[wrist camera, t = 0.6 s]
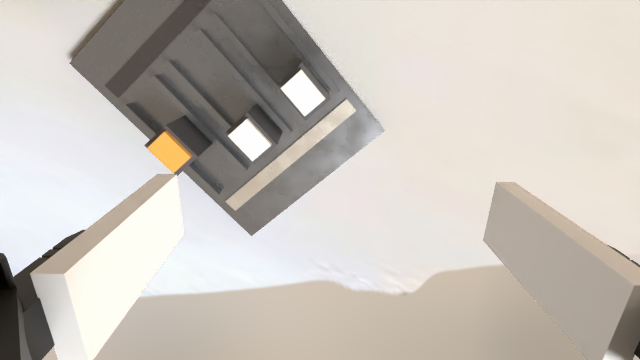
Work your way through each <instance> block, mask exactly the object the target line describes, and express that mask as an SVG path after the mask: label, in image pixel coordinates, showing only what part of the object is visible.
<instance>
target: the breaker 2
mask: <svg viewBox="0 0 640 360" xmlns="http://www.w3.org/2000/svg"><path fill="white" fill-rule="evenodd" d="M224 134H225V135H226V136H227V137H228V138H229V139H230V140H231V141H232V142H233V143H234V144H235V145H236V146H237V147H238V148H239V149H240V150H241V151H242V152H243V153H244V155H245V156H246V157H247V158H248V159H249V160H250V161H251V162H252V163H253V164H256V163H257V162H258V161H259V160H260V159H261V158H263V157H264V156H265V155H266V154H267V153H268V152H270V151H271V150H272V149H273V148H274V147H275V146H277V144H278V142H279V140H280V137H281V135H282V132H281V131H280V129H279V128H278V127H277V126H276V125H275V124H274V123H273V122H272V121H271V120H270V118H269V117H268V116H267V115H266V114H265V113H264V112H263V111H262V110H261V108H260V107H259V106H258V105H257V104H256V105H255V106H253V107H252V108H251V109H250V110H249V111H248V112H247V113H246V114H245V115H244V116H242V117H241V118H240V119H239V120H238V121H237V122H236V123H235V124H234V125H233V126H231V127H230V128H229V129H228V130H227V131H226V132H225V133H224Z"/></svg>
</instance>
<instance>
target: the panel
mask: <svg viewBox="0 0 640 360" xmlns="http://www.w3.org/2000/svg"><path fill="white" fill-rule="evenodd" d="M303 61H304V63H305V64H306V65H307V66H308V68H309V69H310V70H311V71H312V72H313V74H314V75H315V76H316V77H317V79H318V80H319V81H320V82H321V83H322V85H323V86H324V87H325V88H326V90H327V91H328V92H329V95H330V100H329V101H328V102H327V103H326V104H325V105H323V106H322V107H321V108H320V109H319V110H317V111H316V112H315V113H314V114H313V115H312V116H310V117H309V118H308V119H307V120H306V121H305V120H304V119H303V118H302V116H301V115H300V114H299V113H298V112H297V111H296V109H295V108H294V107H293V106H292V105H291V104H290V103H289V101H288V100H287V99H286V98H285V97H284V96H283V94H282V93H281V92H280V91H279V90H278V89H277V88H276V86H277V85H278V84H279V83H280V82H281V81H282V80H283V79H284V78H285V77H286V76H288V75H289V74H290V73H291V72H292V71H293V70H294V69H295V68H296V67H297V66H299V65H300V64H301V63H302V62H303ZM70 64H71V65H72V66H73V67H74V68H75V69H76V70H77V71H78V72H79V73H80V74H81V75H82V76H83V77H85V78H86V79H87V80H88V81H89V82H90V83H91V84H92V85H93V86H94V87H95V88H96V89H97V90H98V91H99V92H100V93H101V94H102V95H103V96H105V97H106V98H107V99H108V100H109V101H110V102H111V103H112V104H113V105H114V106H115V107H116V108H117V109H118V110H119V111H120V112H121V113H122V114H123V115H125V116H126V117H127V118H128V119H129V120H130V121H131V122H132V123H133V124H134V125H135V126H136V127H137V128H138V129H139V130H140V131H141V132H142V133H144V134H145V135H146V136H147V137H148V138H149V139H150V140H151V139H152V138H153V137H154V136H155V135H156V134H157V133H158V132H159V131H160V130H161V129H162V128H163V127H164V126H165V125H166V124H168V123H170V122H172V121H174V120H176V119H178V118H180V117H182V116H184V115H186V116H187V117H188V118H189V119H190V120H191V121H192V122H193V123H194V124H195V125H196V126H197V128H198V129H199V130H200V131H201V132H202V133H203V134H204V135H205V136H206V137H207V138H208V139H209V140H210V141H211V142H212V143H213V144H212V145H211V146H209V147H208V148H207V149H206V150H205V151H204V152H203V153H202V154H201V155H200V156H198V157H197V158H196V159H195V160H194V161H193V162H192V163H191V164H190V165H189V166H187V167H186V168H185V169H184V170H183V171H184V172H185V173H186V174H187V175H188V176H189V177H190V178H191V179H192V180H193V181H194V182H195V183H196V184H197V185H198V186H199V187H200V188H201V189H203V190H204V191H205V192H206V193H207V194H208V195H209V196H210V197H211V198H212V199H213V200H214V201H215V202H216V203H217V204H218V205H219V206H220V207H222V208H223V209H224V210H225V211H226V212H227V213H228V214H229V215H230V216H231V217H232V218H233V219H234V220H235V221H236V222H237V223H238V224H239V225H240V226H242V227H243V228H244V229H245V230H246V231H247V232H248V233H249V234H250V235H251V236H252V235H253V234H255V233H256V232H257V231H259V230H260V229H261V228H262V227H264V226H265V225H266V224H267V223H269V222H270V221H271V220H272V219H274V218H275V217H276V216H277V215H279V214H280V213H281V212H283V211H284V210H285V209H286V208H288V207H289V206H290V205H291V204H293V203H294V202H295V201H296V200H298V199H299V198H300V197H301V196H303V195H304V194H305V193H307V192H308V191H309V190H310V189H312V188H313V187H314V186H315V185H317V184H318V183H319V182H320V181H322V180H323V179H324V178H325V177H327V176H328V175H329V174H331V173H332V172H333V171H334V170H336V169H337V168H338V167H339V166H341V165H342V164H343V163H344V162H346V161H347V160H348V159H349V158H351V157H352V156H353V155H355V154H356V153H357V152H358V151H360V150H361V149H362V148H363V147H365V146H366V145H367V144H368V143H370V142H371V141H372V140H373V139H375V138H376V137H377V136H379V135H380V134H381V133H382V132H384V129H383V128H382V127H381V126H380V124H379V123H378V122H377V121H376V119H375V118H374V117H373V115H372V114H371V113H370V112H369V110H368V109H367V108H366V107H365V105H364V104H363V103H362V102H361V100H360V99H359V98H358V97H357V95H356V94H355V93H354V91H353V90H352V89H351V88H350V86H349V85H348V84H347V83H346V81H345V80H344V79H343V78H342V76H341V75H340V74H339V72H338V71H337V70H336V69H335V67H334V66H333V65H332V64H331V62H330V61H329V60H328V59H327V57H326V56H325V55H324V54H323V52H322V51H321V50H320V48H319V47H318V46H317V45H316V43H315V42H314V41H313V40H312V38H311V37H310V36H309V35H308V33H307V32H306V31H305V30H304V28H303V27H302V26H301V24H300V23H299V22H298V21H297V19H296V18H295V17H294V16H293V14H292V13H291V12H290V11H289V9H288V8H287V7H286V6H285V4H284V3H283V2H282V0H124V1H123V3H122V4H121V5H120V6H119V7H118V8H117V9H116V11H115V12H114V13H113V14H112V15H111V16H110V17H109V19H108V20H107V21H106V22H105V23H104V24H103V25H102V27H101V28H100V29H99V30H98V31H97V32H96V33H95V35H94V36H93V37H92V38H91V39H90V40H89V41H88V43H87V44H86V45H85V46H84V47H83V48H82V49H81V50H80V52H79V53H78V54H77V55H76V56H75V57H74V58H73V60H72V61H71V62H70ZM256 104H257V105H258V106H259V107H260V108H261V110H262V111H263V112H264V113H265V114H266V115H267V116H268V117H269V118H270V120H271V121H272V122H273V123H274V124H275V125H276V126H277V127H278V128H279V129H280V131H281V132H282V135H281V137H280V140H279V142H278V144H277V146H275V147H274V148H273V149H272V150H271V151H270V152H268V153H267V154H266V155H265V156H264V157H263V158H261V159H260V160H259V161H258V162H257V163H256V164H253V163H252V162H251V161H250V160H249V159H248V158H247V157H246V156H245V155H244V153H243V152H242V151H241V150H240V149H239V148H238V147H237V146H236V145H235V144H234V143H233V142H232V141H231V140H230V139H229V138H228V137H227V136H226V135H225V134H224V133H225V132H226V131H227V130H228V129H229V128H230V127H231V126H233V125H234V124H235V123H236V122H237V121H238V120H239V119H240V118H241V117H242V116H244V115H245V114H246V113H247V112H248V111H249V110H250V109H251V108H252V107H253V106H255V105H256Z"/></svg>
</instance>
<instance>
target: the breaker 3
mask: <svg viewBox="0 0 640 360" xmlns="http://www.w3.org/2000/svg"><path fill="white" fill-rule="evenodd" d="M276 88H277V89H278V90H279V91H280V92H281V93H282V94H283V96H284V97H285V98H286V99H287V100H288V101H289V103H290V104H291V105H292V106H293V107H294V108H295V109H296V111H297V112H298V113H299V114H300V115H301V116H302V118H303V119H304V120H305V121H306V120H307V119H308V118H309V117H310V116H312V115H313V114H314V113H315V112H316V111H317V110H319V109H320V108H321V107H322V106H323V105H325V104H326V103H327V102H328V101H329V100H330V95H329V92H328V91H327V90H326V88H325V87H324V86H323V85H322V83H321V82H320V81H319V80H318V79H317V77H316V76H315V75H314V74H313V72H312V71H311V70H310V69H309V68H308V66H307V65H306V64H305V63H304V61H303V62H302V63H301V64H300V65H299V66H297V67H296V68H295V69H294V70H293V71H292V72H291V73H290V74H289V75H288V76H286V77H285V78H284V79H283V80H282V81H281V82H280V83H279V84H278V85H277V86H276Z"/></svg>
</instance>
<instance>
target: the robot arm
mask: <svg viewBox="0 0 640 360" xmlns="http://www.w3.org/2000/svg"><path fill="white" fill-rule="evenodd" d="M183 235H184V228H183V220H182V212H181V204H180V196H179V189H178V181H177V174H157V175H156V176H155V177H153V178H152V179H151V180H149V181H148V182H147V183H146V184H144V185H143V186H142V187H140V188H139V189H138V190H137V191H135V192H134V193H133V194H131V195H130V196H129V197H128V198H126V199H125V200H124V201H122V202H121V203H120V204H119V205H117V206H116V207H115V208H113V209H112V210H111V211H110V212H108V213H107V214H106V215H104V216H103V217H102V218H101V219H99V220H98V221H97V222H95V223H94V224H93V225H92V226H90V227H89V228H88V229H86V230H82V231H80V232H78V233H75V234H73V235H71V236H69V237H67V238H65V239H64V240H62V241H61V242H60V243H58V244H57V245H56V246H54V247H53V249H50V250H49V251H48V252H46V253H45V254H44V255H42V258H38V259H37V260H36V261H34V262H33V263H32V264H30V265H29V266H27V267H26V268H25V269H23V270H22V271H21V272H19V273H18V274H17V275H15V276H14V277H13V275H12V272H11V269H10V267H9V264H8V261H7V258H6V256H5V255H4V254H3V253H0V360H42V358H43V357H44V356H45V355H46V354H47V353H48V352H49V351H50V350H51V349H52V347H53V346H54V349H55V352H56V355H57V358H58V360H93V359H94V358H95V356H96V355H97V354H98V352H99V351H100V350H101V348H102V346H103V345H104V344H105V343H106V341H107V340H108V338H109V337H110V336H111V334H112V333H113V331H114V330H115V329H116V327H117V326H118V325H119V323H120V322H121V321H122V319H123V318H124V316H125V315H126V314H127V312H128V311H129V310H130V308H131V307H132V305H133V304H134V303H135V301H136V300H137V298H138V297H139V296H140V294H141V293H142V292H143V290H144V289H145V287H146V286H147V285H148V283H149V282H150V281H151V279H152V278H153V276H154V275H155V274H156V272H157V271H158V270H159V268H160V267H161V265H162V264H163V263H164V261H165V260H166V259H167V257H168V256H169V254H170V253H171V252H172V250H173V249H174V247H175V246H176V245H177V243H178V242H179V241H180V239H181V238H182V236H183ZM483 241H484V242H485V243H486V244H487V245H488V247H489V248H490V249H491V250H492V251H493V252H494V253H495V255H496V256H497V257H498V258H499V259H500V260H501V262H502V263H503V264H504V265H505V266H506V267H507V268H508V270H509V271H510V272H511V273H512V274H513V275H514V277H515V278H516V279H517V280H518V281H519V282H520V284H521V285H522V286H523V287H524V288H525V289H526V290H527V292H528V293H529V294H530V295H531V296H532V297H533V299H534V300H536V302H537V303H538V304H539V305H540V307H541V308H542V309H543V310H544V311H545V312H546V314H547V315H548V316H549V317H550V318H551V319H552V320H553V322H554V323H555V324H556V325H557V326H558V327H559V329H560V330H561V331H562V332H563V333H564V334H565V335H566V337H567V338H568V339H569V340H570V341H571V342H572V344H573V345H574V346H575V347H576V348H577V350H578V351H579V352H580V353H581V354H582V355H583V356H584V358H585V359H586V360H633V357H634V355H636V356H637V357H639V359H640V265H639V264H637V263H636V262H634V261H633V260H630V258H628V257H627V256H625V255H624V254H623V253H621V252H620V251H618V250H617V249H615V248H613V247H611V246H609V245H606V244H605V243H603V242H602V241H600V240H599V239H597V238H596V237H594V236H593V235H591V234H590V233H588V232H587V231H585V230H584V229H582V228H581V227H579V226H578V225H576V224H575V223H574V222H572V221H571V220H569V219H568V218H566V217H565V216H563V215H562V214H560V213H559V212H557V211H556V210H554V209H553V208H551V207H550V206H548V205H547V204H546V203H544V202H543V201H541V200H540V199H538V198H537V197H535V196H534V195H532V194H531V193H529V192H528V191H526V190H525V189H523V188H522V187H520V186H519V185H517V184H516V183H514V182H496V185H495V190H494V194H493V198H492V203H491V207H490V212H489V216H488V221H487V225H486V230H485V234H484V239H483Z"/></svg>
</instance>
